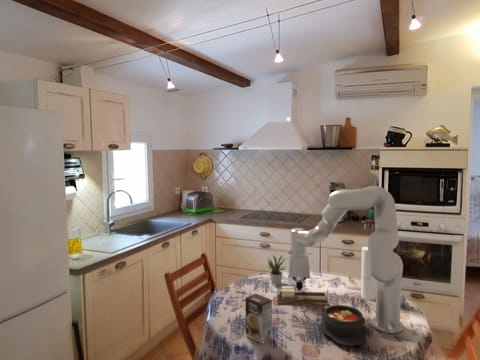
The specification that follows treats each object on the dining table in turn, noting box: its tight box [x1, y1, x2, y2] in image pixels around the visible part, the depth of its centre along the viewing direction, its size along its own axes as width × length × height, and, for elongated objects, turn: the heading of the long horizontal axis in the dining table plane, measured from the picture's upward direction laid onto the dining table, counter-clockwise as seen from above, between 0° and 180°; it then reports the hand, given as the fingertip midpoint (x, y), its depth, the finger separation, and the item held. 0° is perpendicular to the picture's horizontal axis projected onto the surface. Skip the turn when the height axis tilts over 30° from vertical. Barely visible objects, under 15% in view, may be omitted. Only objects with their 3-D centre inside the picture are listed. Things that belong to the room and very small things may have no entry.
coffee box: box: [245, 293, 273, 344], centre depth 140 cm, size 9×6×16 cm
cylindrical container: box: [360, 246, 377, 301], centre depth 175 cm, size 7×7×25 cm
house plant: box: [266, 254, 288, 286], centre depth 195 cm, size 14×14×16 cm
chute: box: [276, 288, 329, 307], centre depth 174 cm, size 12×24×4 cm, turn 85°
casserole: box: [319, 304, 368, 346], centre depth 142 cm, size 25×19×8 cm
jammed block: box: [281, 285, 296, 298], centre depth 175 cm, size 6×6×4 cm
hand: (299, 289), depth 174 cm, fingers closed
